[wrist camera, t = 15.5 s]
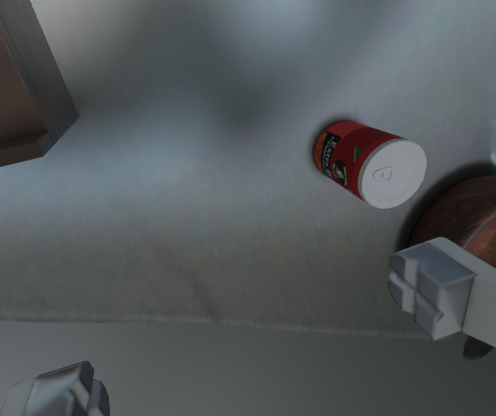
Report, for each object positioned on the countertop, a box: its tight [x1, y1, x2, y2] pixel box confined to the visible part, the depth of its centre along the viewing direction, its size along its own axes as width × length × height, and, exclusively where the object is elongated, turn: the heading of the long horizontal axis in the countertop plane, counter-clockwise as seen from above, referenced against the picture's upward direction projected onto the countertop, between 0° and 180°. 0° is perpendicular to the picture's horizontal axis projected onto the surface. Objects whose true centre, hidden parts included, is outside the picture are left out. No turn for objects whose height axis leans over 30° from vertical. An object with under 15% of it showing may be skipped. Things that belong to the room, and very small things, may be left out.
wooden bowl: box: [409, 175, 496, 268], centre depth 52 cm, size 25×25×10 cm
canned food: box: [314, 121, 427, 209], centre depth 38 cm, size 8×8×11 cm
